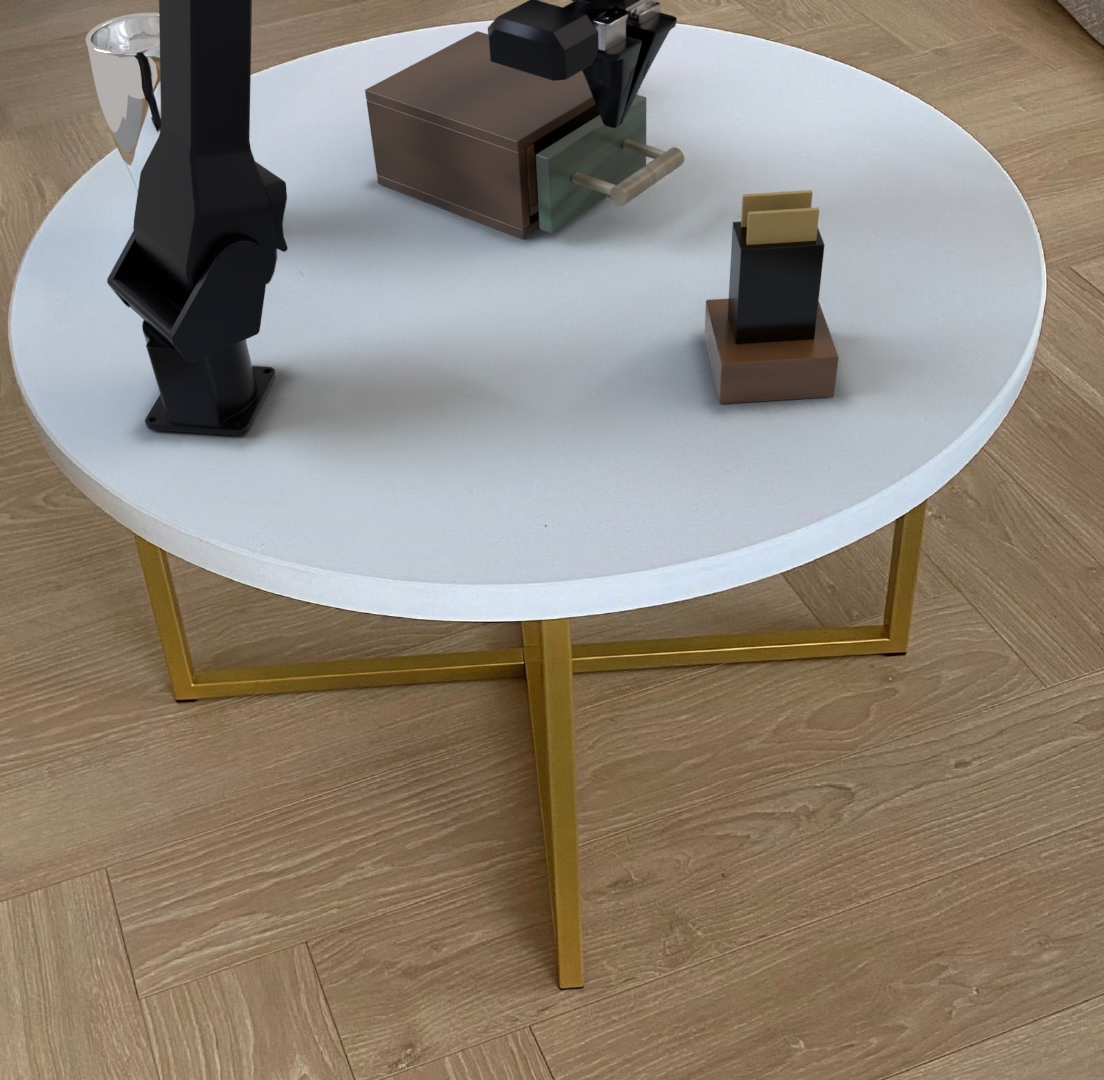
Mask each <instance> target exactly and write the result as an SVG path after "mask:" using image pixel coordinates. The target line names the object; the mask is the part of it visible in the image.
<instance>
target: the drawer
mask: <svg viewBox="0 0 1104 1080" xmlns="http://www.w3.org/2000/svg"><path fill="white" fill-rule="evenodd" d="M525 154H526V171H527V188H528V205H529V216H532V215H533V214H535V213H536V212H538V211H539V226H540V229H539V230H541V231H543V232H546V233H549V234H554V233H557V231H559V230H561V229H562V228H564V226H565V227H566V225H568V224H569V223H571V222H572V221H573V220H575V219H577V218H578V217H579V216H581V215H582V214H584V213H585V212H586V211H589V209H591V208H593V207H594V206H595V205H597V204H598V203H600V202H601V201H602V200H604V199H606V198H607V197H609V196H610V199H611V201H612V203H614V204H615V205H617V206H618V207H623V206H625V205H626V204H628V203H630V202H631V201H632V200H634V199H635V198H636V197H638V196H639V195H641V194H642V193H643V192H645V191H647V190H648V189H650V188H651V187H652V186H654V185H655V184H657V183H658V182H659V181H662V180H663V179H664V178H665V177H667V176H668V175H669V174H672V172H674V171H675V170H676V169H678V168H680V167H681V166H682V165H684V163H685V154H684V153H683V151H682V150H681V149H680V148H679V147H675V146H672V147H670V148H669V149H668V150H663V149H660V148H658V147H654V146H652V145H648V144H647V97H646V96H644V95H641V94H637V95H636V97H635V99H634V101H633V103H632V105H631V107H630V109H629V111H628V113H627V115H626V117H625V119H624V122H623V123H622V124H621V125H620V126H618V127H617V128H611V127H608V126H605V125H604V124H603V122H602V119H601V117H600V114H599V112H598V109H597V106H596V104H595V105H594V106H592V107H591V108H589V109H587V110H586V111H584V112H582V113H581V114H579V115H578V116H576V117H574V118H573V119H571V120H569V121H568V122H566V123H565V124H563V125H561V126H560V127H558V128H556V129H555V130H553V131H552V132H550V133H548V134H547V135H545V136H543V137H542V138H540V139H539V140H537V141H535V142H534V143H532V144H530V145H529V146H527V147H525ZM647 158H649V159H653V160H651V161H650V162H648V163H647Z"/></svg>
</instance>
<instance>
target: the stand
mask: <svg viewBox="0 0 1104 1080" xmlns="http://www.w3.org/2000/svg"><path fill="white" fill-rule="evenodd" d="M728 300H729V297H728V298H715V299H713V298H712V299H706V300H705V312H704V313H705V314H704V315H705V316H704V334H703V335H704V337H703V339H704V343H705V347H706V351H707V356H708V360H709V365H710V370H711V373H712V377H713V381H714V386H715V390H716V394H717V395H716V396H717V398H718V399H717V400H718V403H719V404H720V405H726V404H738V403H739V404H740V403H742V404H743V403H754V402H757V403H758V402H770V401H771V402H772V401H787V400H800V399H801V400H802V399H803V400H804V399H816V398H817V399H819V398H832V397H833V398H834V396H835V390H836V382H837V374H838V366H839V354H838V351H837V348H836V345H835V342H834V339H833V337H832V334H831V331H830V329H829V325H828V323H827V320H826V317H825V314H824V311H823V309H822V306H821V303H820V300H819V301H818V311H817V320H816V329H815V338H814V339H809V340H793V341H777V342H762V343H746V344H735V341H734V337H733V333H732V329H731V325H730V322H729V318H728Z"/></svg>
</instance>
